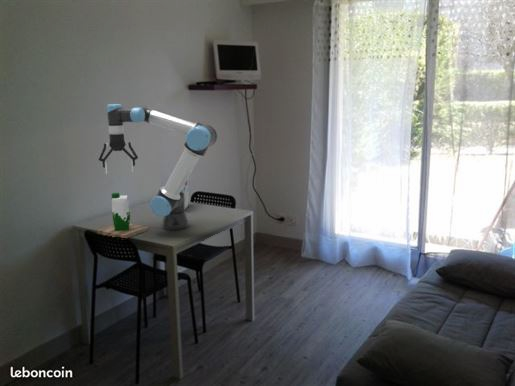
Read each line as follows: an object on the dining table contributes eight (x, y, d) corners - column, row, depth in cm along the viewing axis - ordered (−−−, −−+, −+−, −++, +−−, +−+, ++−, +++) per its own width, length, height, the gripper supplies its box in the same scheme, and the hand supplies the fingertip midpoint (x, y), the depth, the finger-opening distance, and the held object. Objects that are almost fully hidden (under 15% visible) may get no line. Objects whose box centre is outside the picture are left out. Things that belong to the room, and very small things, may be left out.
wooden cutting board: (147, 230, 251) (147, 227, 250) (122, 239, 236) (122, 235, 235) (122, 225, 261) (122, 222, 261) (97, 233, 246) (97, 230, 246)
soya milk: (114, 227, 251) (111, 192, 247) (131, 225, 253) (128, 191, 249) (113, 231, 243) (110, 195, 239) (130, 230, 245) (127, 194, 241)
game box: (181, 205, 308) (179, 166, 302) (189, 205, 308) (187, 166, 302) (174, 212, 288) (172, 171, 282) (182, 212, 288) (180, 171, 282)
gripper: (140, 132, 246) (143, 170, 250) (92, 133, 239) (96, 173, 244) (140, 133, 239) (143, 172, 243) (91, 134, 232) (95, 175, 237)
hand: (119, 172), depth 244 cm, fingers open, 13 cm apart
